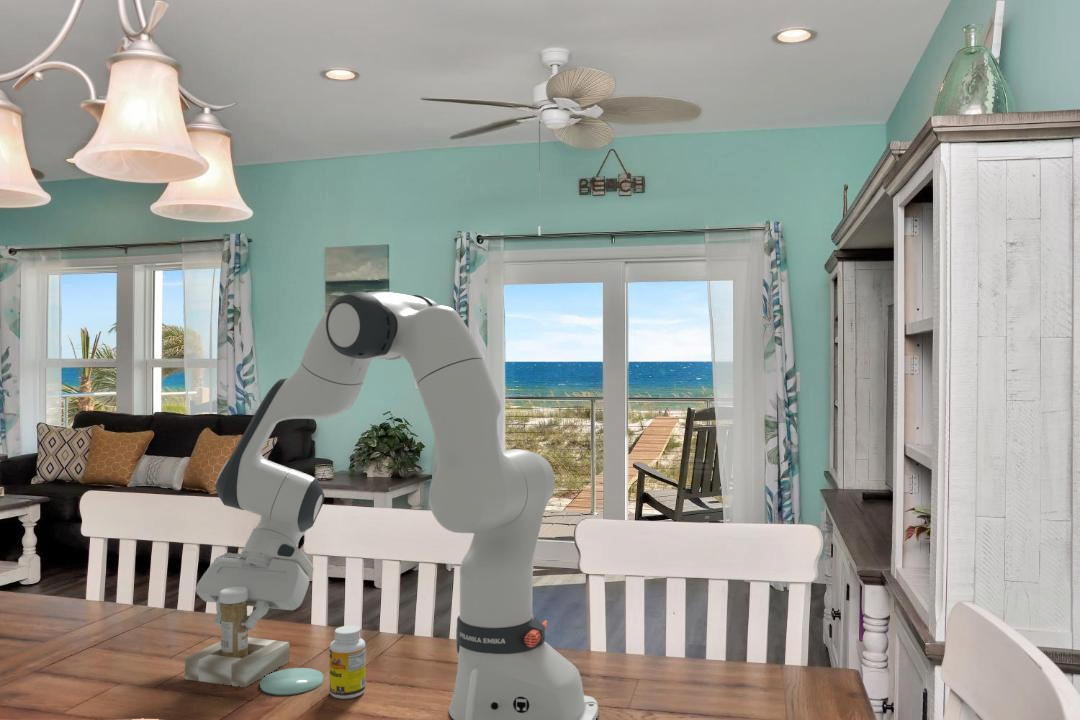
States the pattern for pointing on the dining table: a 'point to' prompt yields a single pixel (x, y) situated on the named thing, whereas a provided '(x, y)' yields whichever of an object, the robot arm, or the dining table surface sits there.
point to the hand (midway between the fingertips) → (232, 626)
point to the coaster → (291, 681)
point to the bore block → (237, 663)
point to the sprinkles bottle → (234, 622)
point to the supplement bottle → (347, 663)
